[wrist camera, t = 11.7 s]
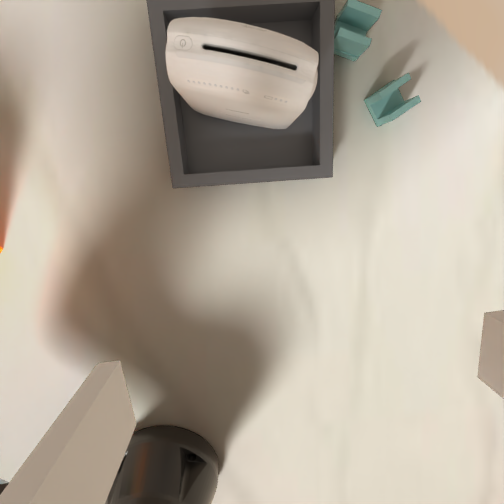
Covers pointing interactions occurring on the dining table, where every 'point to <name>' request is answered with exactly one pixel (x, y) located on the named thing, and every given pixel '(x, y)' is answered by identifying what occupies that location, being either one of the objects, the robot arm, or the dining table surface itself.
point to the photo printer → (240, 71)
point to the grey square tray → (242, 135)
